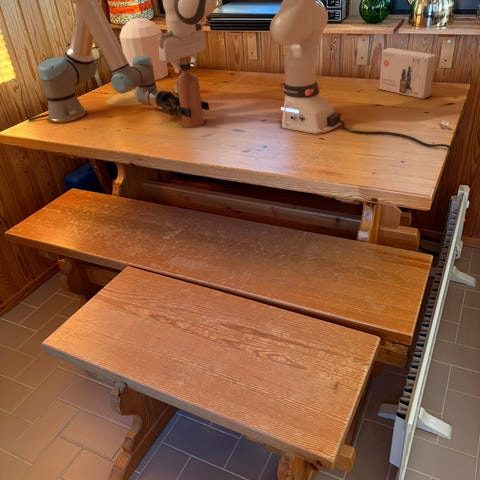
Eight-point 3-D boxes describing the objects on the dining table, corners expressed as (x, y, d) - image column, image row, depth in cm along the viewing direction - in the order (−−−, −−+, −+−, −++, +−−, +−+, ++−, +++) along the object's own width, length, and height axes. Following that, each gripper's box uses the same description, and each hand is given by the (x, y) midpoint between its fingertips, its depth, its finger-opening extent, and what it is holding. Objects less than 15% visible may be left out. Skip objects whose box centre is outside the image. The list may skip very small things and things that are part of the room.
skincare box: (377, 89, 194) (381, 50, 185) (385, 86, 197) (389, 47, 188) (423, 99, 180) (429, 56, 171) (430, 95, 183) (437, 53, 174)
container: (160, 81, 233) (149, 21, 217) (121, 82, 238) (108, 23, 222) (174, 69, 249) (165, 13, 233) (138, 70, 254) (126, 15, 238)
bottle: (191, 118, 185) (182, 61, 173) (208, 120, 181) (200, 62, 169) (178, 125, 179) (169, 67, 167) (196, 128, 175) (187, 69, 163)
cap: (178, 69, 169) (177, 63, 168) (187, 66, 171) (186, 60, 170) (183, 70, 166) (182, 64, 165) (192, 68, 168) (192, 62, 167)
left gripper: (184, 101, 196) (220, 111, 182) (143, 116, 184) (179, 128, 170) (181, 83, 191) (218, 92, 177) (139, 97, 180) (175, 108, 166)
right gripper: (164, 35, 153) (171, 78, 161) (206, 23, 165) (210, 63, 173) (151, 34, 156) (158, 76, 164) (193, 22, 169) (198, 61, 176)
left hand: (199, 109), depth 174 cm, fingers closed on bottle, 8 cm apart
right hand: (185, 69), depth 169 cm, fingers open, 6 cm apart
